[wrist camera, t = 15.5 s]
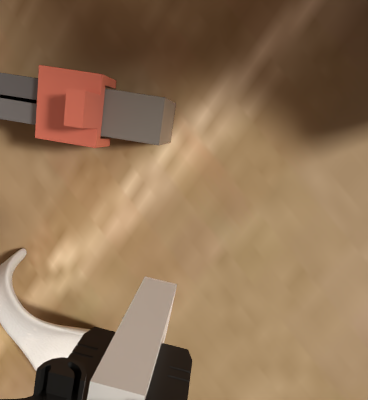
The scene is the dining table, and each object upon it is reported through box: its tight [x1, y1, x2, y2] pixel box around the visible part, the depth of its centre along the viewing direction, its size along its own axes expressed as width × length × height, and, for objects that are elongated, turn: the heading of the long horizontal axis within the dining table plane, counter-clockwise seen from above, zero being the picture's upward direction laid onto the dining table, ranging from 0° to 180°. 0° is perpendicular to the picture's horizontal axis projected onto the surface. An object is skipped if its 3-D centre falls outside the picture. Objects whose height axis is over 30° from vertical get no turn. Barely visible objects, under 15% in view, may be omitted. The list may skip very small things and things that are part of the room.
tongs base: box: [0, 73, 176, 145], centre depth 36 cm, size 32×5×7 cm, turn 81°
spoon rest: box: [0, 248, 91, 371], centre depth 43 cm, size 24×12×7 cm, turn 39°
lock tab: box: [35, 65, 116, 148], centre depth 31 cm, size 6×7×8 cm
